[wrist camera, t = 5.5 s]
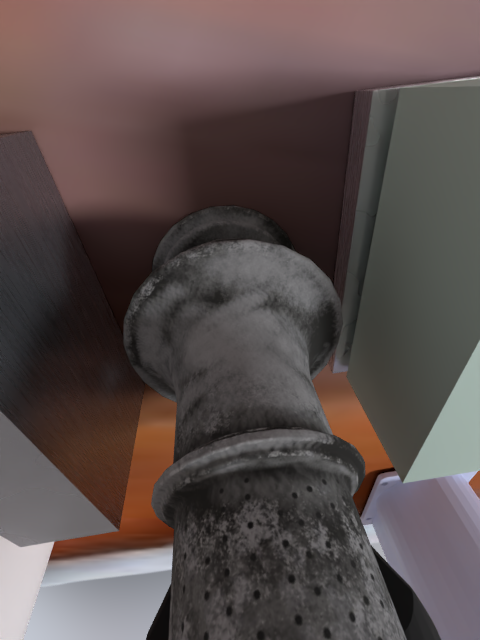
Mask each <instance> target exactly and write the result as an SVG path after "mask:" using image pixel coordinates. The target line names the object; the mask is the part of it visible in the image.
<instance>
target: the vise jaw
mask: <svg viewBox="0 0 480 640" xmlns="http://www.w3.org/2000/svg"><path fill="white" fill-rule="evenodd" d="M346 377H347V379H348V381H349V382H350V384H351V386H352V388H353V390H354V392H355V394H356V396H357V398H358V400H359V402H360V403H361V405H362V407H363V409H364V411H365V413H366V415H367V417H368V419H369V421H370V422H371V424H372V426H373V428H374V430H375V432H376V434H377V436H378V438H379V440H380V441H381V443H382V445H383V447H384V449H385V451H386V453H387V455H388V457H389V459H390V461H391V462H392V464H393V466H394V468H395V470H396V472H397V474H398V476H399V478H400V480H401V481H402V483H408V482H414V481H420V480H426V479H432V478H438V477H444V476H450V475H456V474H462V473H468V472H474V471H480V78H477V79H469V80H461V81H452V82H444V83H436V84H428V85H420V86H412V87H404V88H400V93H399V98H398V103H397V109H396V114H395V119H394V125H393V130H392V136H391V141H390V146H389V152H388V157H387V162H386V168H385V173H384V178H383V184H382V189H381V194H380V200H379V205H378V210H377V216H376V221H375V227H374V232H373V237H372V243H371V248H370V253H369V259H368V264H367V269H366V275H365V280H364V285H363V291H362V296H361V302H360V307H359V312H358V318H357V323H356V328H355V334H354V339H353V344H352V350H351V355H350V360H349V366H348V371H347V376H346Z"/></svg>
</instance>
